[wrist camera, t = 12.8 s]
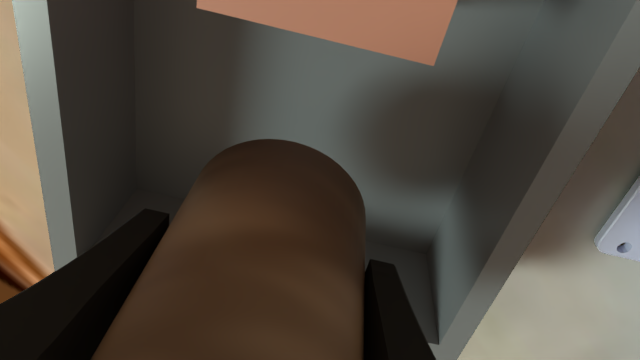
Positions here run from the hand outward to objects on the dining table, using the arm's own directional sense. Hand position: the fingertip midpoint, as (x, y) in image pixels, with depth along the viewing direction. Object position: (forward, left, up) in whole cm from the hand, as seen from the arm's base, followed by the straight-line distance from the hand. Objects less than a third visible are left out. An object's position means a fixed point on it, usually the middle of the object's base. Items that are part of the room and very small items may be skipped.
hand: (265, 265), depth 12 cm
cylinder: (0, 0, -2) cm, 2 cm away
